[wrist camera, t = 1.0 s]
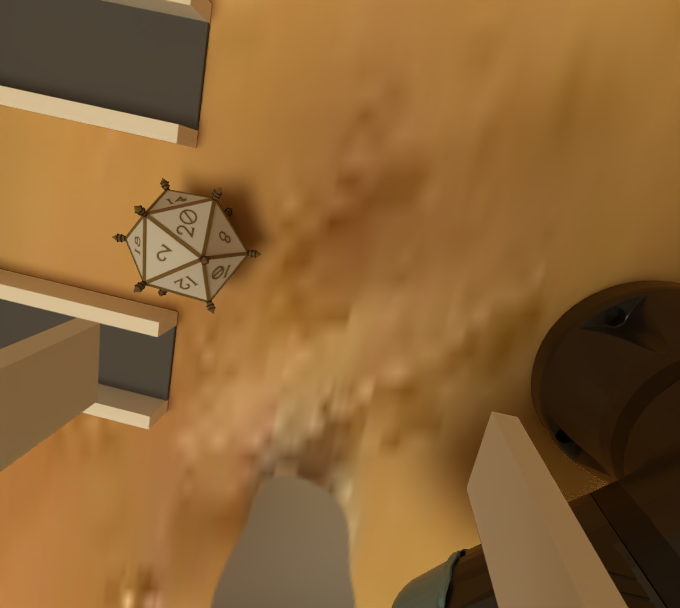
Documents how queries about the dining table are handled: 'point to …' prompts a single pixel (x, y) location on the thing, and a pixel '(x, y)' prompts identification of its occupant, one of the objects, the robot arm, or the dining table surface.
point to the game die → (185, 245)
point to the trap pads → (115, 94)
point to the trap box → (90, 304)
